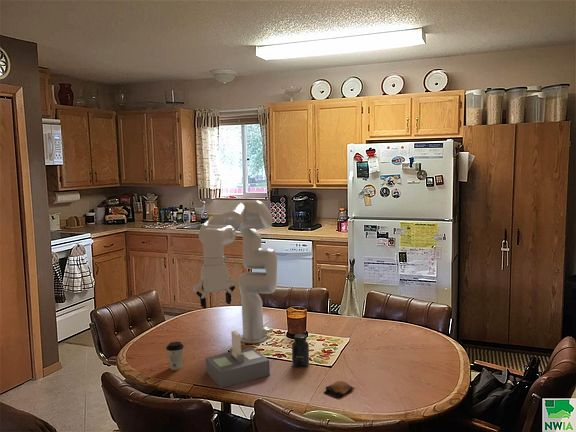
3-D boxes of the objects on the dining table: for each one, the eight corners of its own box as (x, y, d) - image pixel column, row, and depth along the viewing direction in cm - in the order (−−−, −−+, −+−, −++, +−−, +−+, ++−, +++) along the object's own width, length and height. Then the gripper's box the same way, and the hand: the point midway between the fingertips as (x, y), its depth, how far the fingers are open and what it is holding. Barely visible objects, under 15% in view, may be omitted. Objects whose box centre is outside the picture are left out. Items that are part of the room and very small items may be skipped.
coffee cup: (176, 372, 193) (174, 348, 192) (163, 369, 196) (162, 345, 195) (188, 366, 199) (187, 342, 198) (176, 362, 202) (174, 339, 201)
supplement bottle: (297, 369, 192) (296, 340, 191) (289, 363, 198) (288, 334, 197) (312, 365, 195) (311, 336, 194) (304, 359, 201) (303, 331, 200)
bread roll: (338, 383, 180) (337, 374, 179) (357, 390, 174) (357, 380, 174) (320, 394, 172) (320, 384, 172) (339, 401, 166) (339, 391, 166)
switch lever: (237, 355, 192) (236, 330, 191) (242, 359, 188) (241, 334, 186) (231, 356, 191) (230, 331, 190) (236, 361, 186) (235, 335, 185)
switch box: (252, 360, 202) (251, 339, 201) (269, 375, 188) (268, 352, 187) (206, 372, 192) (205, 350, 191) (220, 388, 178) (219, 364, 177)
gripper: (232, 256, 189) (234, 299, 191) (188, 262, 181) (191, 307, 183) (239, 259, 183) (241, 304, 184) (194, 265, 175) (197, 312, 176)
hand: (216, 305), depth 184 cm, fingers open, 9 cm apart
